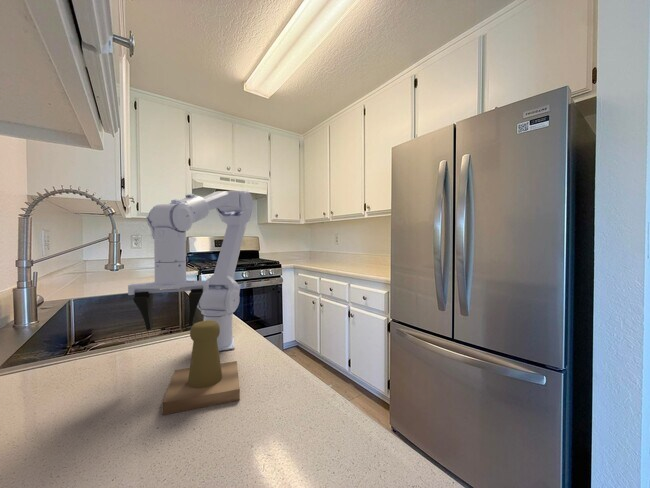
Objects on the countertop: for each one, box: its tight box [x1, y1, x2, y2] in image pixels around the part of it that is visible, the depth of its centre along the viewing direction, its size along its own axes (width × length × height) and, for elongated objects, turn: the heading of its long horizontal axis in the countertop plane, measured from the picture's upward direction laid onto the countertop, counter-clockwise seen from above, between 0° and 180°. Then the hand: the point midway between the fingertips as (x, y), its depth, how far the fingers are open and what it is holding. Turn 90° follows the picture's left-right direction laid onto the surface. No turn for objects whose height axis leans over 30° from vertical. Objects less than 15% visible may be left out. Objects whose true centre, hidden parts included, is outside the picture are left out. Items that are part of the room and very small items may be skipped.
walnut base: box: [162, 360, 241, 416], centre depth 52 cm, size 12×12×2 cm
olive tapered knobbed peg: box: [188, 320, 222, 388], centre depth 52 cm, size 6×6×11 cm
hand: (170, 326), depth 57 cm, fingers open, 7 cm apart
